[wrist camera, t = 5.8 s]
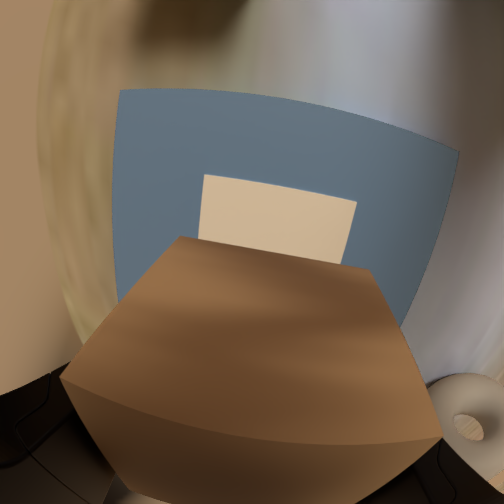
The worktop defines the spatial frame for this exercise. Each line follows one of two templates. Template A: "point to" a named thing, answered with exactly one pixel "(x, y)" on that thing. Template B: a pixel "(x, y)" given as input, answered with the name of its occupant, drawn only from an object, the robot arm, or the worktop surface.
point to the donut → (479, 407)
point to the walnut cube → (252, 381)
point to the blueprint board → (275, 184)
